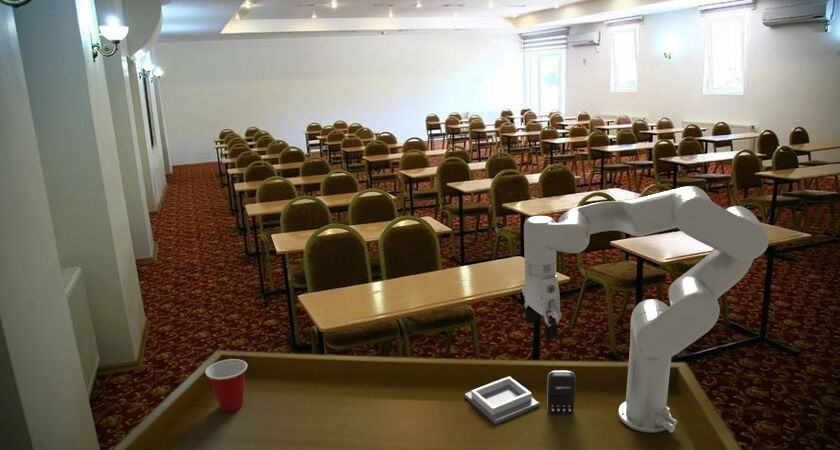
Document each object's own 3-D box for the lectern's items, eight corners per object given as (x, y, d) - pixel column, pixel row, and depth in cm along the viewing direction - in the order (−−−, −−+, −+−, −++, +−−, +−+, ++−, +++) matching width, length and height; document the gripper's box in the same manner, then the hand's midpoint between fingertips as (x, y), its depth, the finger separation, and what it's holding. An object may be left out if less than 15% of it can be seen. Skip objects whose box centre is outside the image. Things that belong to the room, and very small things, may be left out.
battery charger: (547, 416, 159) (549, 377, 155) (546, 407, 162) (547, 369, 158) (575, 416, 158) (577, 377, 154) (573, 407, 162) (575, 369, 158)
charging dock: (539, 406, 163) (539, 396, 162) (495, 424, 156) (495, 414, 155) (506, 381, 174) (506, 371, 173) (464, 396, 168) (464, 387, 167)
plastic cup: (258, 394, 173) (253, 356, 169) (244, 418, 163) (238, 378, 159) (221, 393, 174) (214, 356, 170) (204, 417, 164) (197, 377, 160)
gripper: (573, 276, 144) (573, 342, 149) (536, 252, 159) (536, 313, 165) (545, 282, 141) (545, 349, 147) (509, 258, 157) (511, 319, 162)
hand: (541, 330), depth 156 cm, fingers open, 9 cm apart
